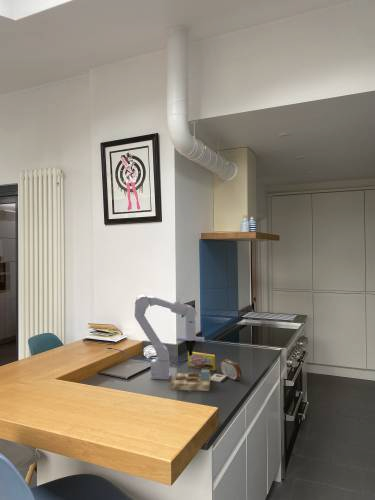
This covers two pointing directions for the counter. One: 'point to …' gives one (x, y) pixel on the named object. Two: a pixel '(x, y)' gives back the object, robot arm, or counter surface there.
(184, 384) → the board
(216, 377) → the chocolate bar
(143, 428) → the counter surface
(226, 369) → the tin
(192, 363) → the candy box
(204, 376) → the block
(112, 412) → the counter surface
